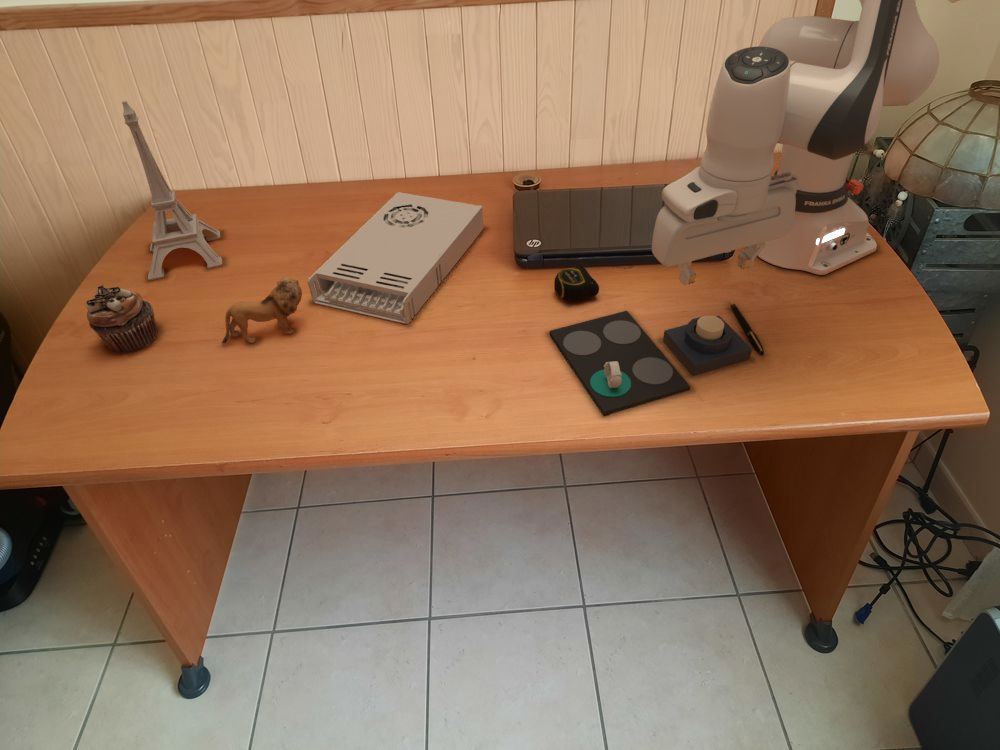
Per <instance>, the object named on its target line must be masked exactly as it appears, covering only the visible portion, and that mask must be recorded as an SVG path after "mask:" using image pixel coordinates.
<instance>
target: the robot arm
mask: <svg viewBox="0 0 1000 750" xmlns="http://www.w3.org/2000/svg"><path fill="white" fill-rule="evenodd" d="M858 1H859V3H860V6H861V10H860V15H859V20H849V19H840V18H831V17H825V16H824V17H823V16H815V15H807V16H806V15H804V16H803V15H802V16H793V17H782V18H780V19H778V20H777V21H775V22H774V23H773V24H772V25H770V27H769V28H768V29H767V31H766V32H765V33H764V34H763V36H762V38H761V40H760V42H759V45H758V46H750V47H745V48H742V49H739V50H736V51H735V52H733V53H731V54H730V55H728V56H727V57H726V59H725V60H724V61H723V62H722V64H721V65H722V66H721V67H720V69H719V72H718V75H717V79H716V82H715V85H714V89H713V93H712V97H711V100H710V105H709V109H708V115H707V120H706V127H705V135H706V147H705V150H704V152H703V154H702V156H701V159H700V165H698V166H697V167H695V168H694V169H693V170H691V171H690V172H688V173H687V174H685V175H684V176H682V177H680V178H678V179H677V180H674V181H673V182H671V183H669V184H667V185H666V186H665V187H663V189H662V192H661V201H662V202H664V204H665V205H663V206H662V207H661V209H660V210H659V211H658V213H657V216H656V219H655V223H654V224H655V225H654V228H653V233H652V240H651V253H652V255H653V256H654V258H655V259H656V260H657V261H658V262H659V263H660V264H662V265H663V267H665V268H672V267H675V266H677V268H678V269H679V277H678V279H679V282H680V283H681V284H682V285H683V286H687V285H691V284H694V283H695V281H696V280H695V279H696V276H697V273H696V272H695V271H694V270H693V269H692V268H691V266H692V262H693V261H698V260H701V259H705V258H710V257H713V256H716V255H720V254H724V253H728V252H732V251H736V250H741V249H743V248H745V249H744V251H743V252H741V253H739V254H738V256H737V261H736V264H737V267H739V268H740V269H741V270H746V269H751V268H753V266H754V263H755V259H756V258H757V257H758V258H760V259H761V260H763V261H765V262H766V263H768V264H771V265H773V266H776V267H780V268H784V269H788V270H797V271H804V272H806V273H807V272H808V273H811V274H814V275H819V276H825V275H827V274H829V273H832V272H833V271H836V270H838V269H840V268H843V267H845V266H848V265H849V264H851V263H854V262H856V261H857V260H860V259H862V258H864V257H866V256H868V255H871V254H873V253H875V252H876V251H877V248H878V244H877V241H876V240H875V239H874V237H873V236H872V235H871V234H870V233H869V232H868V230H869V217H868V215H867V213H866V212H865V211H864V210H863V209H862V208H861V207H860V204H861V202H860V201H859V200H856V199H853V198H851V197H849V193H848V192H849V191H850V192H851V193H852V194H854V195H859V194H860V193H861V192H862V191H863V189H864V184H863V183H862V182H860V181H858V180H857V179H855V178H852V179H848V173H849V171H850V167H851V164H852V162H853V158H854V155H855V153H857V152H859V151H860V150H862V149H864V148H866V147H867V146H868V145H869V142H870V140H872V138H873V136H874V134H875V133H876V131H877V128H878V126H879V123H880V120H881V117H882V110H883V107H901V106H903V107H904V106H908V105H911V104H912V103H914V102H915V101H917V100H918V99H920V98H921V96H922V95H924V93H926V91H927V90H928V89H929V88H930V86H931V85H932V84H933V82H934V80H935V78H936V75H937V73H938V69H939V65H940V52H939V51H940V50H939V48H938V47H939V46H938V45H937V42H936V40H935V39H934V37H933V36H932V34H930V33H929V31H928V30H927V29H926V27H925V25H924V23H923V21H922V19H921V16H920V15H919V11H918V6H917V3H916V0H858ZM778 144H780V145H782V146H781V153H780V157H779V163H778V167H777V169H776V170H775V172H774V174H773V171H774V166H775V159H774V152H775V148H776V146H777V145H778Z"/></svg>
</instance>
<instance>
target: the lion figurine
mask: <svg viewBox="0 0 1000 750" xmlns="http://www.w3.org/2000/svg"><path fill="white" fill-rule="evenodd" d="M276 284H277V285H276V286H275V287H274V288H273V289H272V290H271V291H270V293H269V294H268V295H266V297H265V298H264V299H261V300H258V301H251V302H250V301H249V302H248V301H238V302H234V303H233V304H232V305H230V306H229V307H228V308H227V309H226V312H225V317H224V318H225V321H224V322H225V336H224V337H223V339H222V341H221V344H226V343H227V342H228V341H229V337H230V335H231V336H232V337H238V336H239V335H241V337H242V338H244V339H245V340H246V341H247V342H248V343H249V344H255V343H256V342H257V339H256V337H254V336H252V337H251V336H249V334H248V327H249V323H248V321H249V320H251V321H254V322H257V323H265V322H270V321H273V320H277V324H278V325H279V326H280V327H281V329H282V331H283V332H284V333H285V334H287V335H292V334H293V333H294V330H293V328H289V321H288V317H290V315H292V314H295V313H296V311H297V309H298V305H299V304H300V302H301V300H302V296H303V290H302V287H301V286H300V283H299V280H298V278H294V277H290V276H284V277H282V278H280V279H279V280H277V281H276ZM236 327H238V328H239V330H240V331H239V330H235V329H236Z"/></svg>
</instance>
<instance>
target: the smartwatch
mask: <svg viewBox="0 0 1000 750" xmlns="http://www.w3.org/2000/svg"><path fill="white" fill-rule="evenodd" d="M604 374H605V375H606V376H607V380H608V384H609V387H610V388H617V387H619V386H620V385H621V381H622V379H621V376H622V374H621V372H620V368H619V363H618V362H617V361H613V362H606V363H605V365H604Z"/></svg>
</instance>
